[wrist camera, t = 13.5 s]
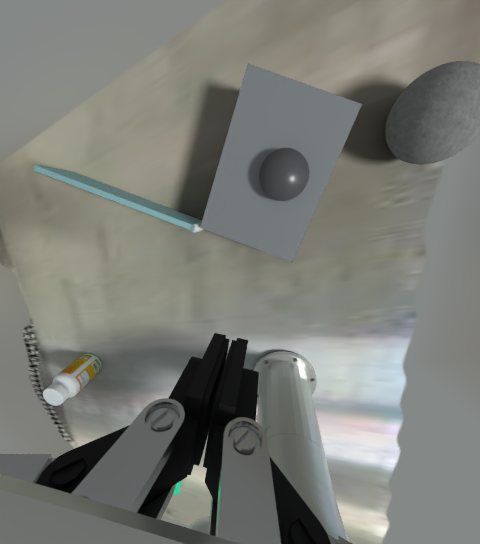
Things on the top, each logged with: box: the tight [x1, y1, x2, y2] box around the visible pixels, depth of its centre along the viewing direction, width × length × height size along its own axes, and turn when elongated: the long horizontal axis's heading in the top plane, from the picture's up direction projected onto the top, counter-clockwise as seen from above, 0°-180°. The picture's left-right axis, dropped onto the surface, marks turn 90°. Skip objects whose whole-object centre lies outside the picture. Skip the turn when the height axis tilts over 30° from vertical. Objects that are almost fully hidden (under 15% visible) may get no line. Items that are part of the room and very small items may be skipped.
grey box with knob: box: [200, 64, 362, 262], centre depth 32 cm, size 20×14×9 cm
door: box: [34, 165, 204, 233], centre depth 36 cm, size 26×1×7 cm, turn 70°
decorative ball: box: [385, 61, 480, 164], centre depth 27 cm, size 10×10×10 cm
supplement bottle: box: [43, 354, 102, 406], centre depth 46 cm, size 5×5×10 cm
